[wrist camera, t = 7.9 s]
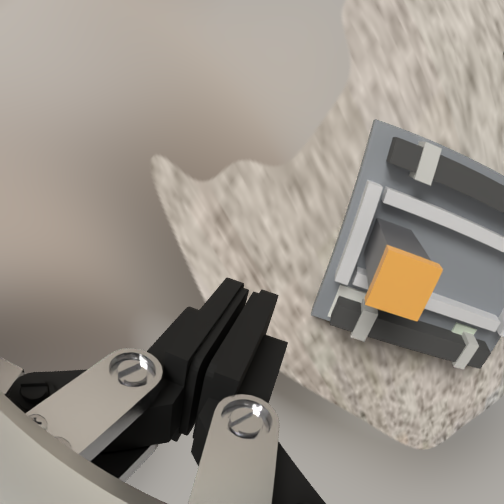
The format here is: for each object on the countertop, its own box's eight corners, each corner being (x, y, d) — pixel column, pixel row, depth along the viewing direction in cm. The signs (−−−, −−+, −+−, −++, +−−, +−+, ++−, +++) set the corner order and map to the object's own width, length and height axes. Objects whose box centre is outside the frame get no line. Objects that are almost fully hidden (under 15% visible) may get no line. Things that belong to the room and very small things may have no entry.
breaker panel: (373, 120, 21) (377, 117, 18) (550, 206, 18) (568, 214, 15) (312, 306, 27) (308, 325, 24) (477, 356, 24) (485, 376, 21)
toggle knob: (374, 213, 21) (388, 249, 14) (414, 228, 21) (443, 269, 14) (360, 254, 23) (365, 304, 16) (398, 267, 22) (417, 321, 15)
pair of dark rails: (394, 131, 19) (399, 131, 17) (547, 207, 17) (560, 213, 15) (329, 316, 25) (327, 330, 24) (472, 359, 23) (478, 373, 21)
